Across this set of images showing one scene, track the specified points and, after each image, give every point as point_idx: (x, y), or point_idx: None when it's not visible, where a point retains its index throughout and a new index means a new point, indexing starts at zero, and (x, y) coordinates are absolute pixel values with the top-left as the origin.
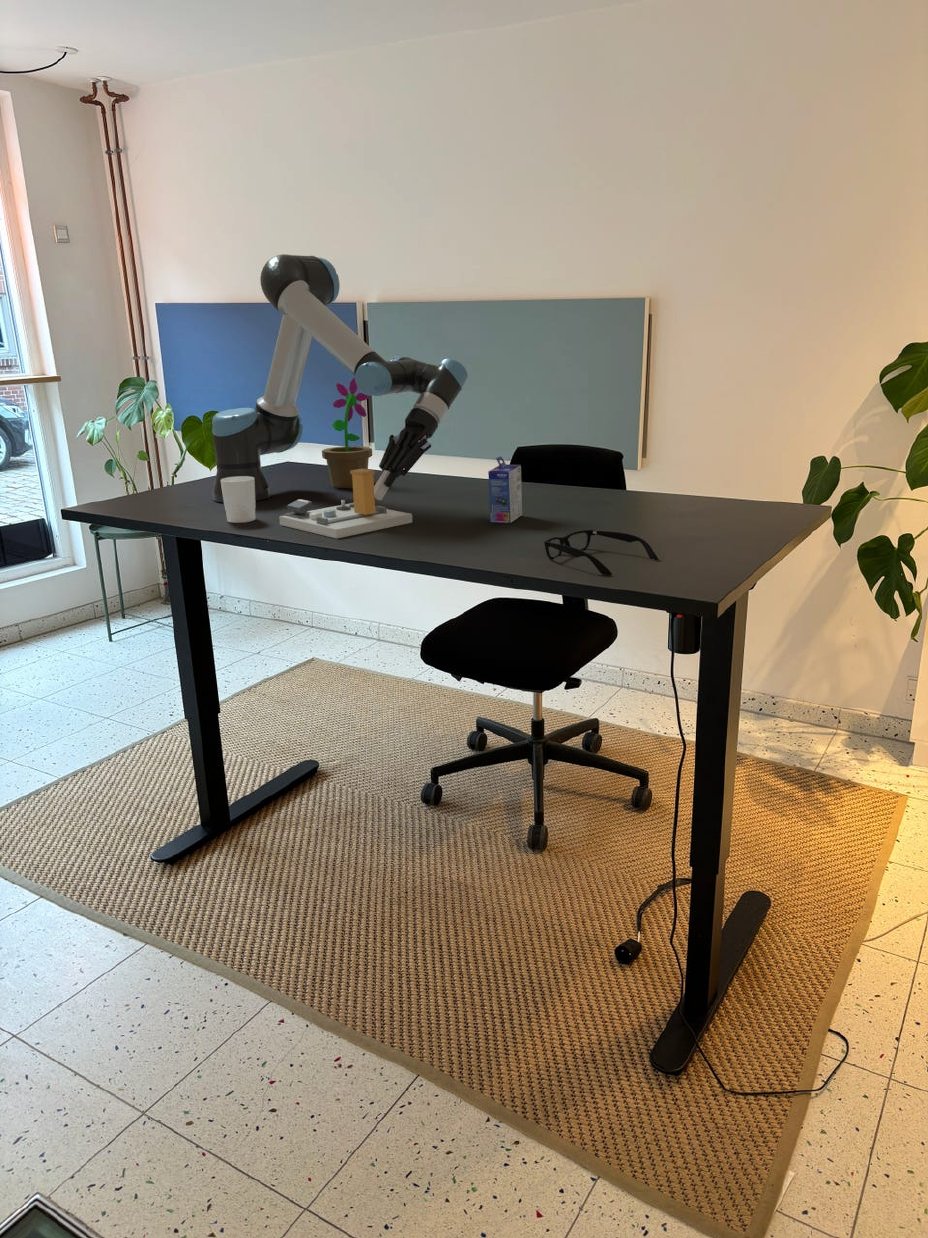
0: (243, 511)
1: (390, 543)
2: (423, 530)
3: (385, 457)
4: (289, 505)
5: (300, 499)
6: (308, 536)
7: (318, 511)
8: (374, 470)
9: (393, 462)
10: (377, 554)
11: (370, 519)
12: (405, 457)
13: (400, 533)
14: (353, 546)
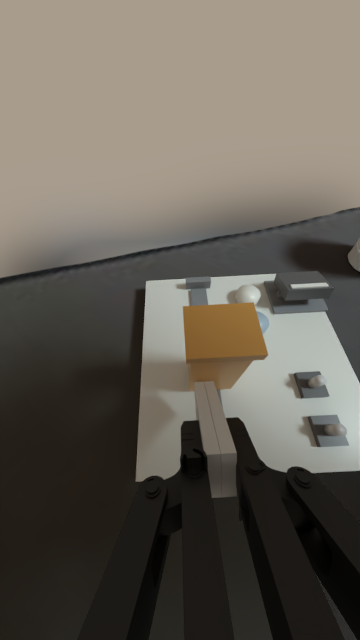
0: (358, 243)
1: (55, 323)
2: (60, 432)
3: (349, 551)
4: (310, 271)
5: (328, 288)
6: (192, 273)
7: (315, 335)
8: (187, 358)
9: (261, 554)
10: (33, 280)
11: (165, 361)
12: (130, 600)
13: (86, 378)
14: (92, 282)
